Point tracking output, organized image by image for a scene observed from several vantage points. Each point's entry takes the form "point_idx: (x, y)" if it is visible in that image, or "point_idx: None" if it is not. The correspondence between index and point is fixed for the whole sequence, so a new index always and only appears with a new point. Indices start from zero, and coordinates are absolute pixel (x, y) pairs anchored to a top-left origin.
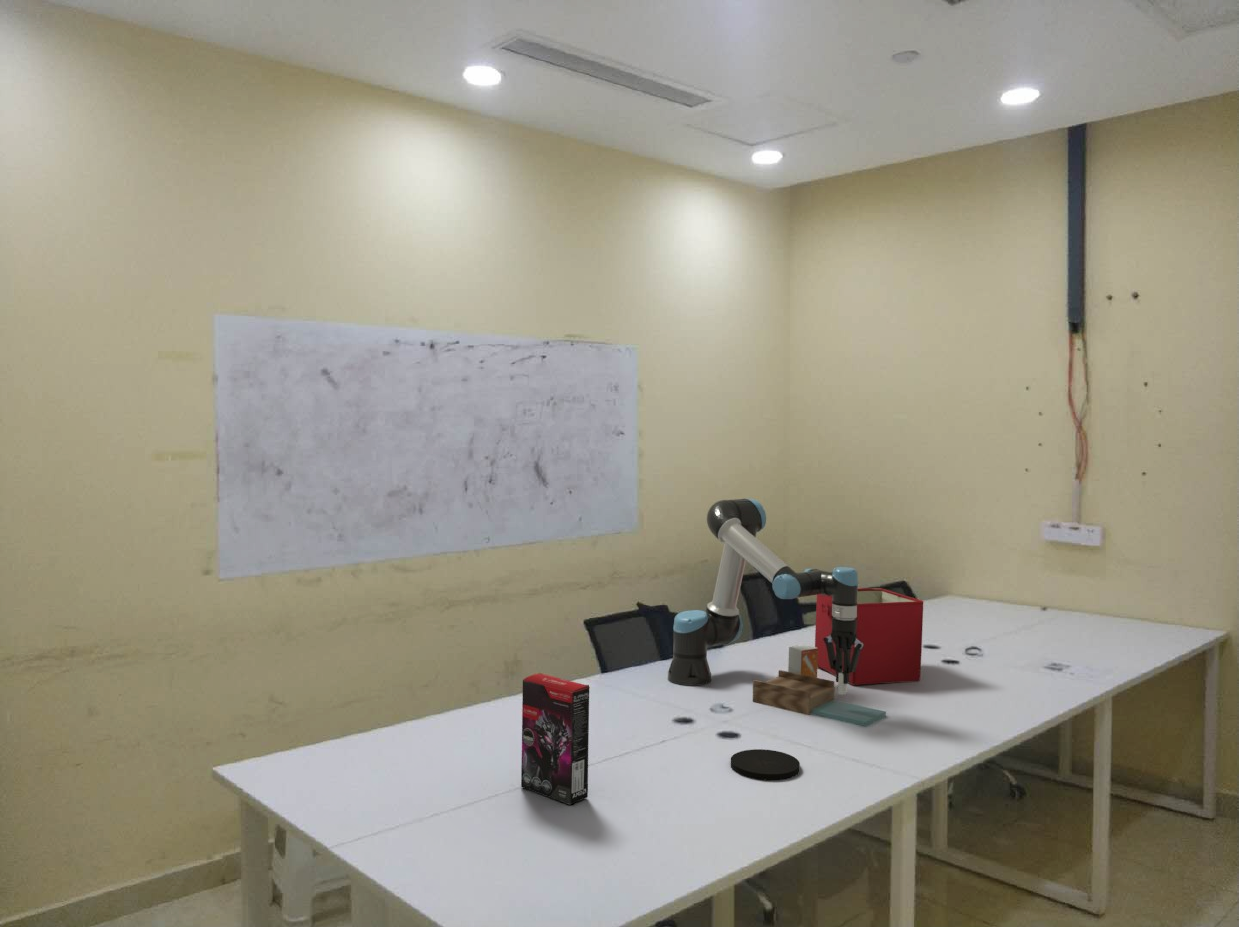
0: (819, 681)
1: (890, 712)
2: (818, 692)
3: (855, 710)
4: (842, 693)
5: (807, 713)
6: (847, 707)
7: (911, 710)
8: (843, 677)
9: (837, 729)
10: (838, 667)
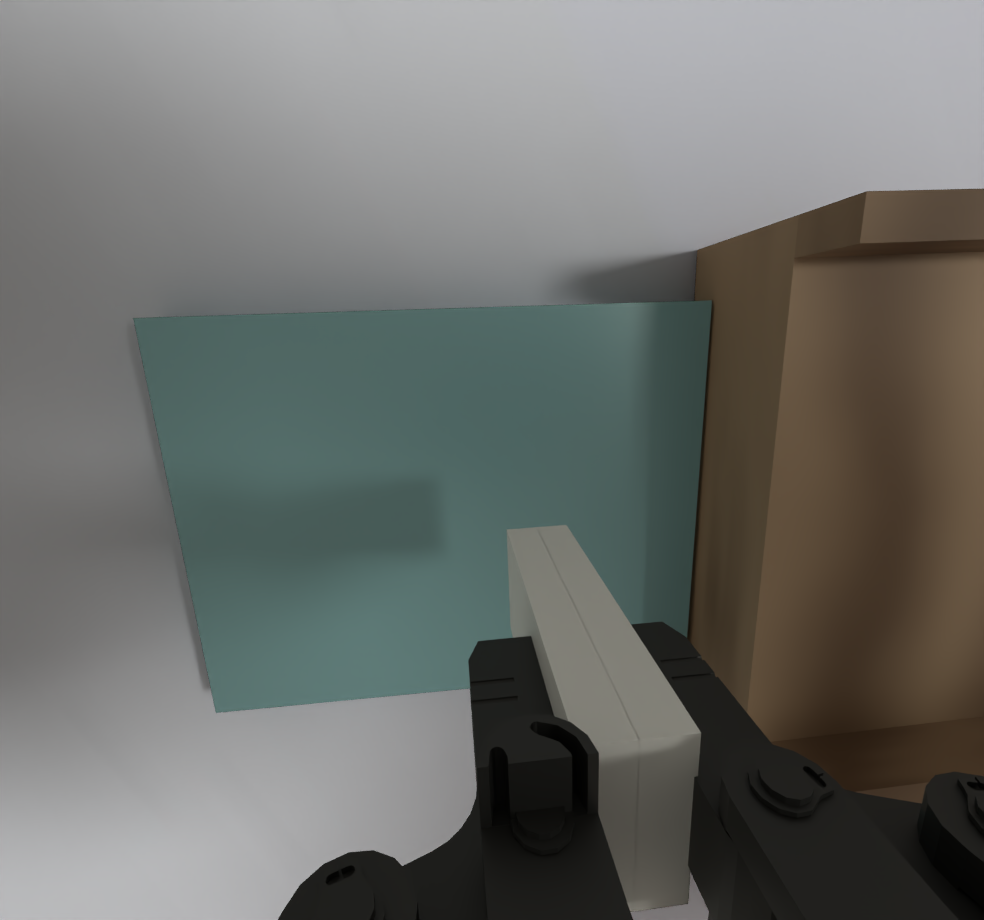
0: (912, 760)
1: (263, 775)
2: (801, 529)
3: (406, 560)
4: (509, 537)
5: (710, 248)
6: (499, 582)
7: (193, 902)
8: (552, 697)
9: (285, 38)
10: (814, 893)
